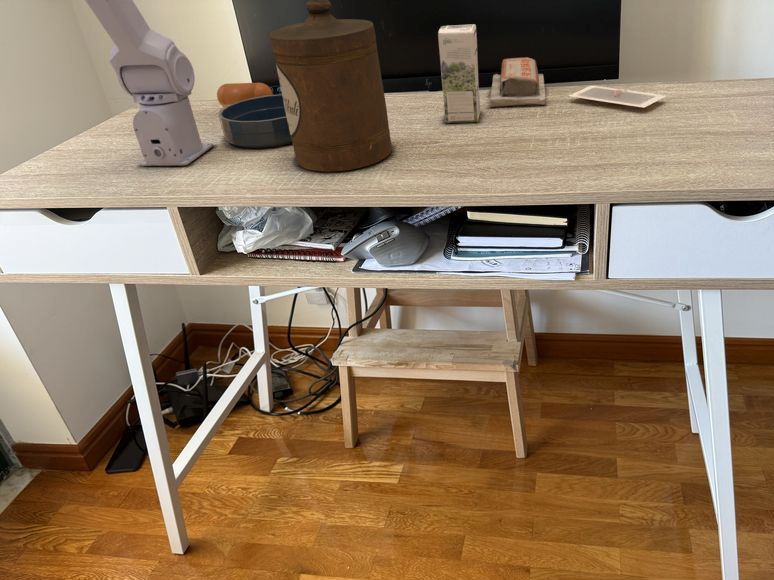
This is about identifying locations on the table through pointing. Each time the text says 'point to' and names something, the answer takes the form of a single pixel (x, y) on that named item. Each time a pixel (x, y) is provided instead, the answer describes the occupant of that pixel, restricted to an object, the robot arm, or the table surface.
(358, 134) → the wooden container
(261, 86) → the bun
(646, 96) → the touchpad
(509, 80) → the packaged product
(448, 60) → the syrup box
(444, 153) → the table surface
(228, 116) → the bowl
